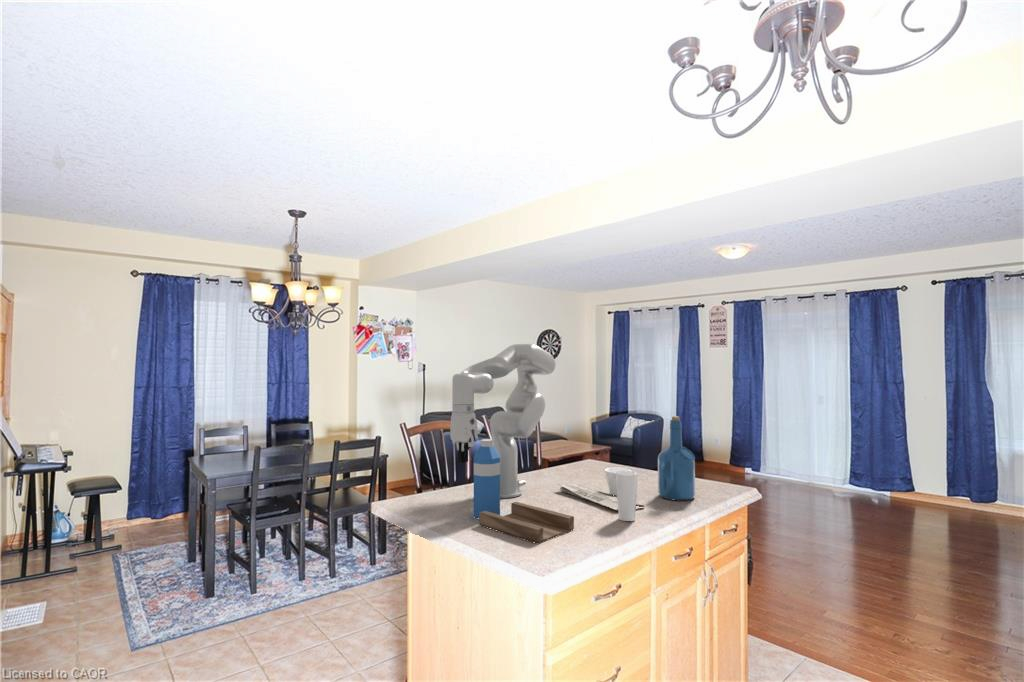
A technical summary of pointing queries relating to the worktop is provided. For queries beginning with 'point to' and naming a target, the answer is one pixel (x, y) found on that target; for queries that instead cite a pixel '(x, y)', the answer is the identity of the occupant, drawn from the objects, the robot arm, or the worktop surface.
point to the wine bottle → (676, 467)
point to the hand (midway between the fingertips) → (463, 462)
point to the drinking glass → (626, 494)
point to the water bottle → (486, 479)
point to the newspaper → (592, 495)
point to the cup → (613, 478)
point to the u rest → (528, 522)
